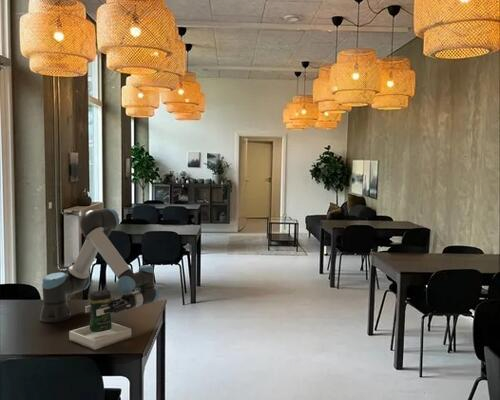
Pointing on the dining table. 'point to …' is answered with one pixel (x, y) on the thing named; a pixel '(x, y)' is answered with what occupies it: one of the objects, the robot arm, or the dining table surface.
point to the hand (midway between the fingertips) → (91, 311)
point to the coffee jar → (98, 302)
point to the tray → (99, 336)
